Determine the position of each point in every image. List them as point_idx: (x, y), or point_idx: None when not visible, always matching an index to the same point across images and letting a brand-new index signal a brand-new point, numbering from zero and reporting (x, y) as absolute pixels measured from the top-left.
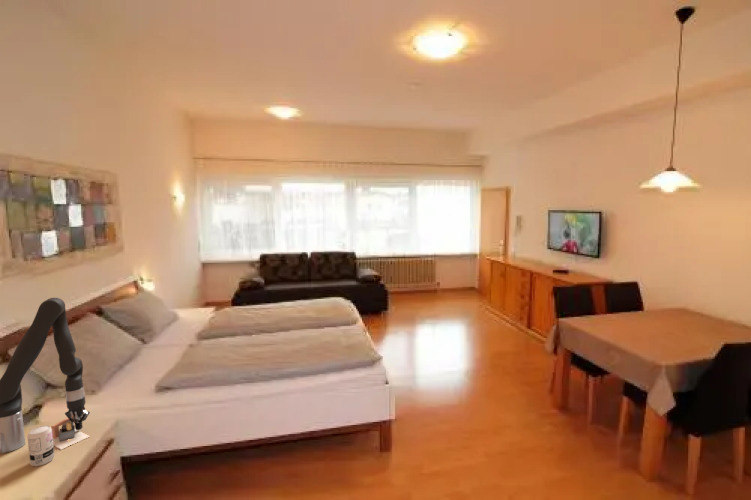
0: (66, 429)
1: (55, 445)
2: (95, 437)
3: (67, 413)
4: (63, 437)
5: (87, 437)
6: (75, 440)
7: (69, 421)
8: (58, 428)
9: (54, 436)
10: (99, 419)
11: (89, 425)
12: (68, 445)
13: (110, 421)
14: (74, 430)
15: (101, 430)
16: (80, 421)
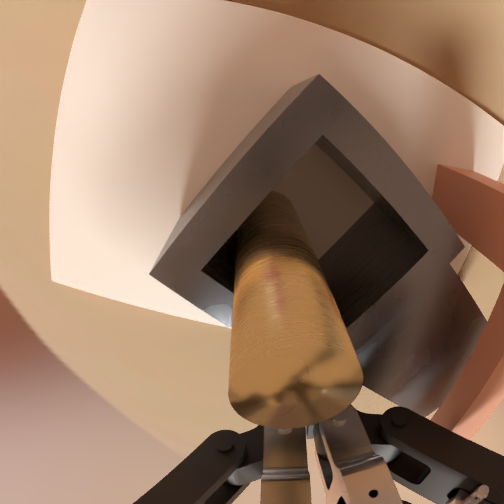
0: (372, 282)
1: (258, 12)
2: (14, 280)
3: (496, 494)
4: (260, 126)
5: (52, 260)
6: (100, 174)
7: None
8: (490, 255)
9: (456, 169)
10: None
11: None
12: (77, 70)
13: (173, 448)
14: None
15: (90, 370)
16: (216, 447)
